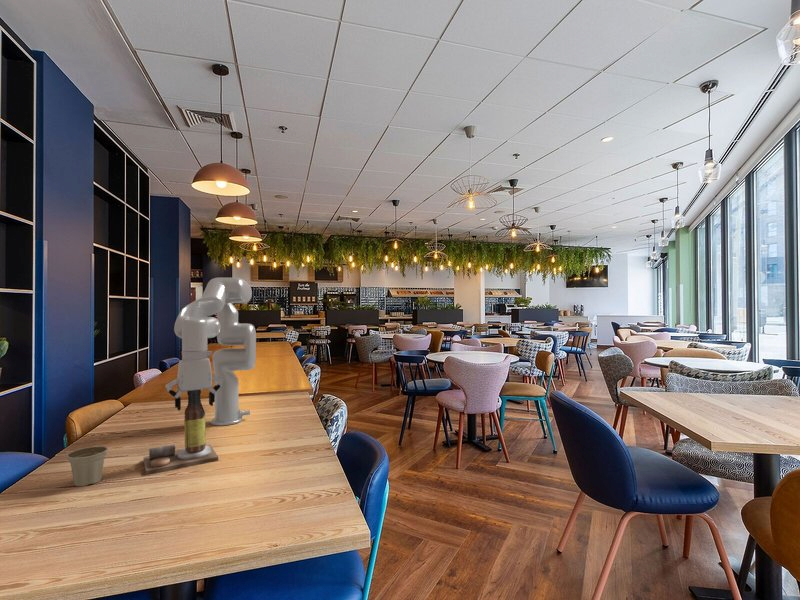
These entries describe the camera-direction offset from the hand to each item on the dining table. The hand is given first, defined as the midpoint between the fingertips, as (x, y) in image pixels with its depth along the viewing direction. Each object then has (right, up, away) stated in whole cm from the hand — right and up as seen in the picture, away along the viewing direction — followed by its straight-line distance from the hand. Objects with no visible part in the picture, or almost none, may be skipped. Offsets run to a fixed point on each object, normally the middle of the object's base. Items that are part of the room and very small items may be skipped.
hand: (195, 407), depth 136 cm
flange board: (-3, -17, -3) cm, 17 cm away
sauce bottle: (0, -14, -1) cm, 14 cm away
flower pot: (-21, -17, -19) cm, 33 cm away
